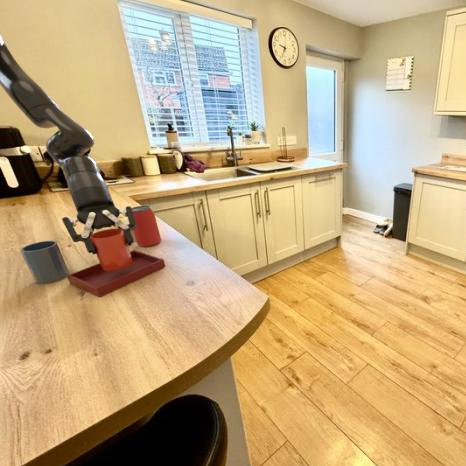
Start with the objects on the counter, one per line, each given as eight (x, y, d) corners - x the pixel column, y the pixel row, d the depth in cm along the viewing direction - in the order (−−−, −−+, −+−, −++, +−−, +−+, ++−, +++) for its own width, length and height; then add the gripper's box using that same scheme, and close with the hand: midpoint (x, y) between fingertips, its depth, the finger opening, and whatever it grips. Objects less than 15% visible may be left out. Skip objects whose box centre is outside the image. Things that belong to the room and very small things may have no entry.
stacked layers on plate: (151, 237, 98) (147, 222, 96) (119, 244, 93) (113, 228, 91) (147, 229, 105) (143, 215, 103) (117, 235, 100) (112, 220, 98)
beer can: (165, 242, 95) (156, 207, 91) (143, 249, 90) (132, 212, 86) (155, 237, 99) (146, 203, 94) (134, 244, 94) (123, 208, 89)
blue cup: (44, 286, 71) (29, 253, 67) (30, 280, 73) (14, 248, 69) (75, 274, 76) (63, 243, 73) (61, 269, 78) (48, 238, 75)
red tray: (99, 297, 67) (96, 288, 66) (70, 283, 72) (66, 275, 71) (165, 266, 80) (163, 259, 79) (136, 257, 85) (134, 249, 84)
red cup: (112, 273, 71) (100, 240, 68) (96, 267, 74) (84, 235, 70) (138, 262, 76) (128, 231, 73) (123, 257, 79) (113, 226, 75)
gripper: (125, 196, 82) (146, 246, 79) (56, 206, 73) (77, 263, 70) (123, 181, 77) (146, 234, 74) (48, 190, 67) (70, 251, 64)
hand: (112, 248), depth 72 cm, fingers closed on red cup, 6 cm apart
